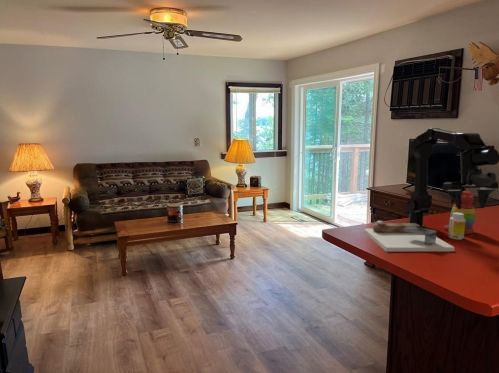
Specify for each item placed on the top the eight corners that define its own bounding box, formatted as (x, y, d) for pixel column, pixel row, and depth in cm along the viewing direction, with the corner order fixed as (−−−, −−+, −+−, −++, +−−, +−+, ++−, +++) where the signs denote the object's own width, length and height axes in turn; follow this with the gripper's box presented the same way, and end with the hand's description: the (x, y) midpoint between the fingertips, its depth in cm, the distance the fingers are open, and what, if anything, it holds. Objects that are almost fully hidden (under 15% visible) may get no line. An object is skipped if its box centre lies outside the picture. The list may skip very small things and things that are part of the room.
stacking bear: (460, 226, 166) (464, 188, 163) (480, 233, 156) (485, 192, 153) (441, 228, 163) (445, 189, 160) (460, 235, 153) (465, 193, 150)
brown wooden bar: (375, 232, 150) (376, 226, 149) (371, 228, 155) (371, 222, 154) (420, 232, 150) (420, 226, 150) (414, 228, 155) (415, 222, 155)
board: (363, 231, 157) (364, 218, 156) (421, 231, 158) (422, 218, 157) (386, 251, 133) (387, 236, 132) (454, 251, 133) (455, 235, 132)
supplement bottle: (466, 239, 148) (469, 214, 146) (456, 240, 146) (459, 215, 144) (454, 235, 153) (457, 211, 151) (444, 236, 151) (447, 212, 149)
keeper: (403, 239, 142) (404, 227, 141) (409, 236, 145) (410, 225, 145) (429, 245, 135) (430, 233, 134) (435, 242, 138) (436, 230, 137)
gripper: (461, 166, 127) (462, 211, 127) (510, 164, 129) (511, 209, 129) (440, 167, 138) (442, 209, 138) (486, 166, 140) (487, 207, 140)
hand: (470, 208), depth 136 cm, fingers open, 9 cm apart
